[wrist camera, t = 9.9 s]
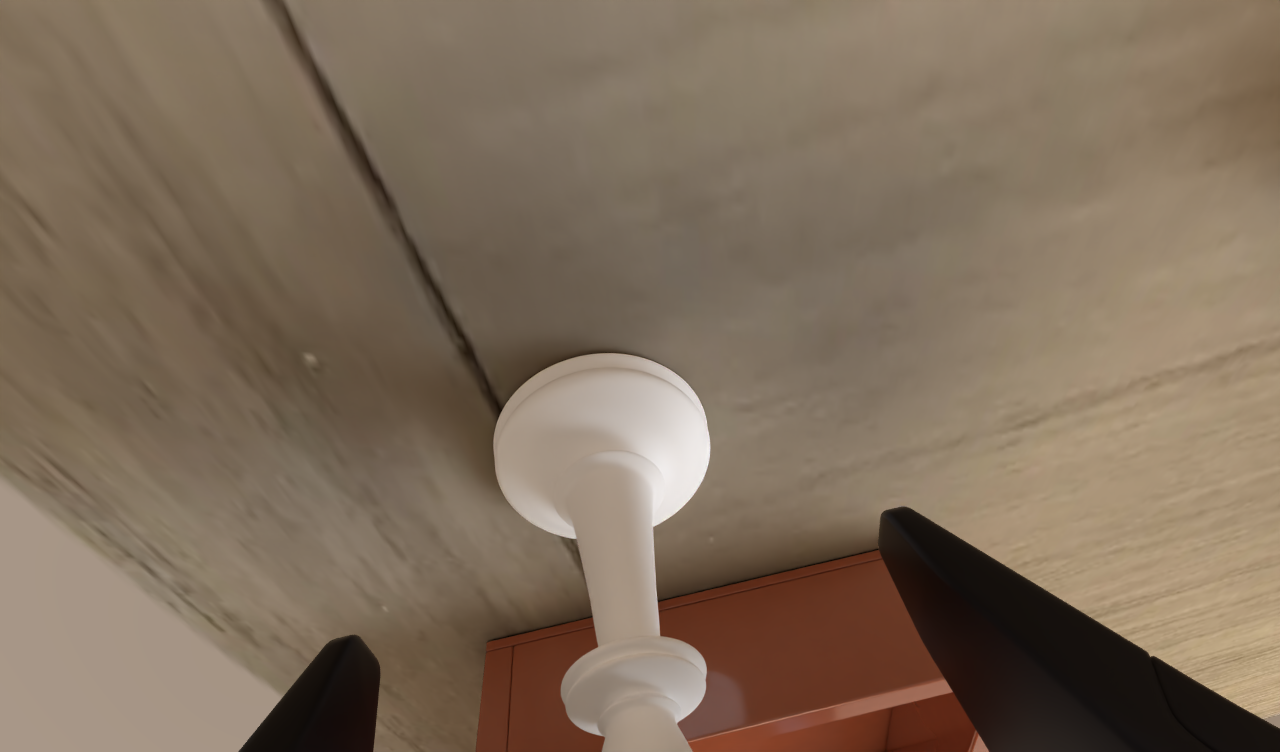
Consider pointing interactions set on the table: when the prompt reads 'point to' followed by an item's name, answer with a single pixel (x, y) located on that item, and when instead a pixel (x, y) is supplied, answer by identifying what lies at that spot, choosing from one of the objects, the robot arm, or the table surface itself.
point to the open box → (756, 671)
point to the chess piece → (613, 527)
